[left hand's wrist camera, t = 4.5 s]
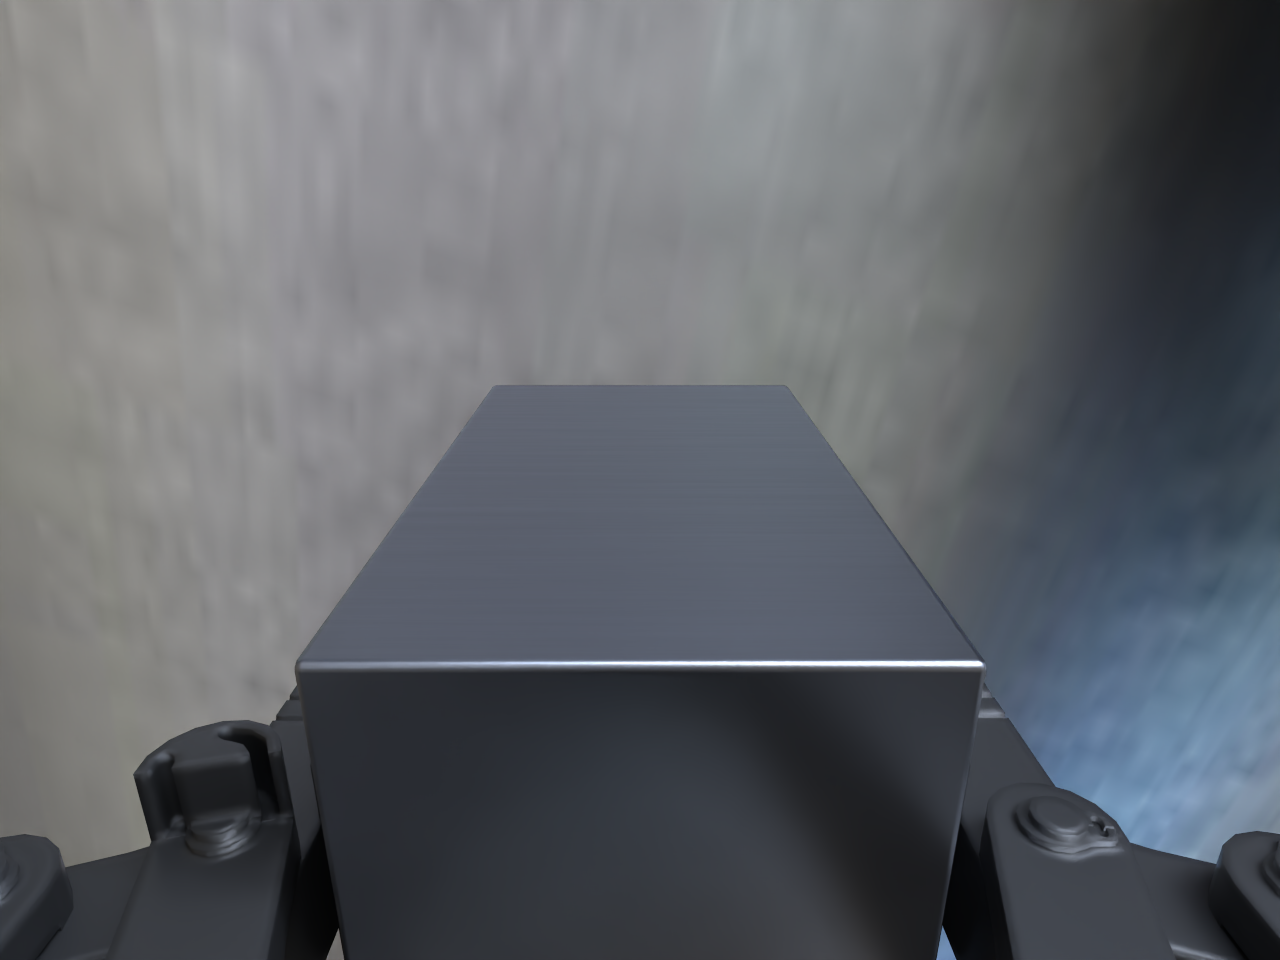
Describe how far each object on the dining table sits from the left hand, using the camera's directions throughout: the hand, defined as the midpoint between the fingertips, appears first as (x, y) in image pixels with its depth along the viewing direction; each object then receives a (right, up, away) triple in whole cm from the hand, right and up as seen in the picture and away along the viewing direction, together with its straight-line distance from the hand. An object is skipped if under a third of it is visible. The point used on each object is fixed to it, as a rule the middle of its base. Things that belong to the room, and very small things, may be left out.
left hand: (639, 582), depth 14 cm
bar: (0, -7, +3) cm, 8 cm away
